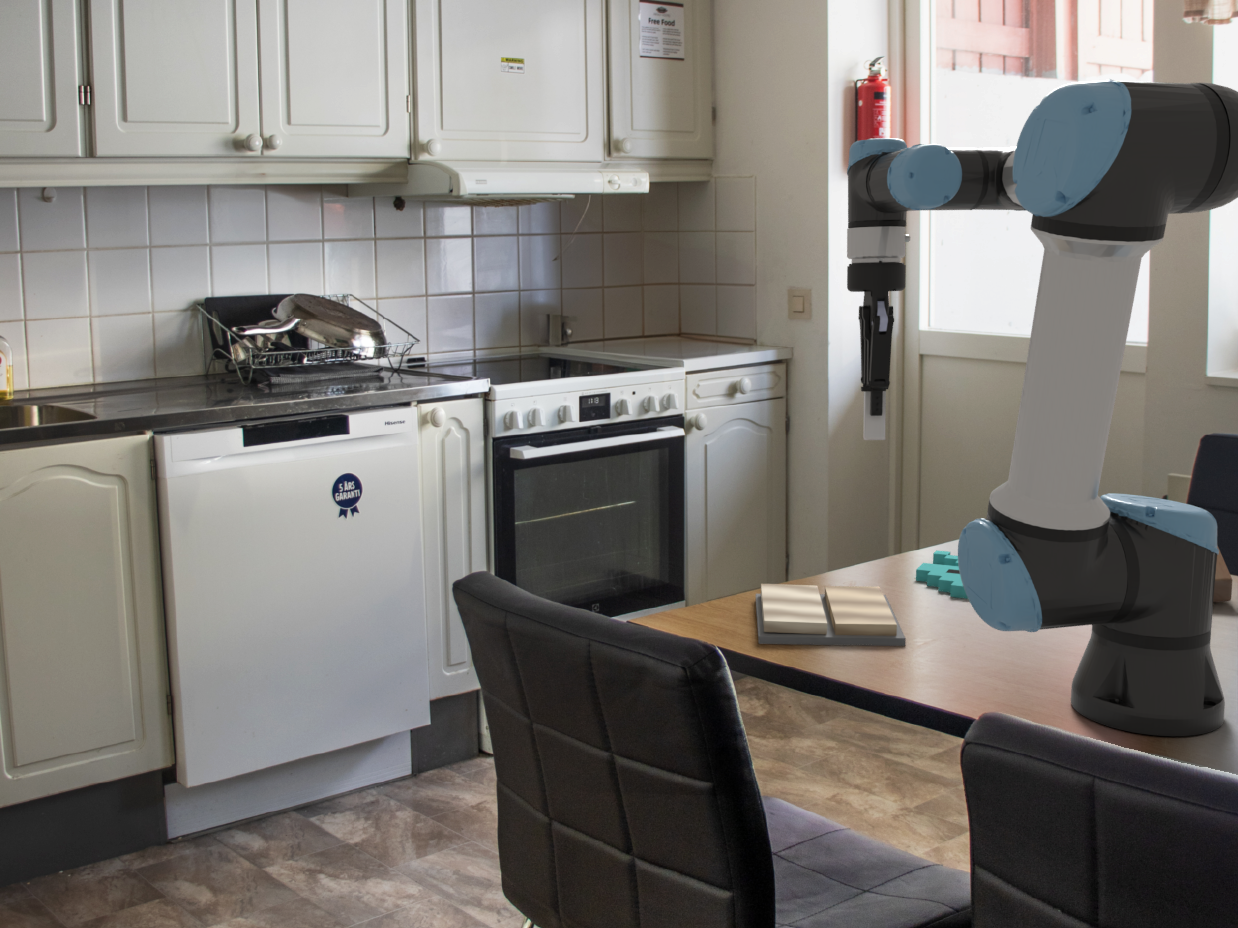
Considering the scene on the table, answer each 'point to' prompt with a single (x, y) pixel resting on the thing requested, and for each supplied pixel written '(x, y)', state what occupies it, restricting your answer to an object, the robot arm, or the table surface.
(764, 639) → the underlay mat
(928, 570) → the alien figure
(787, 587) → the birch plank
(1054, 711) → the table surface
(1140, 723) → the robot arm
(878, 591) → the floor strip
